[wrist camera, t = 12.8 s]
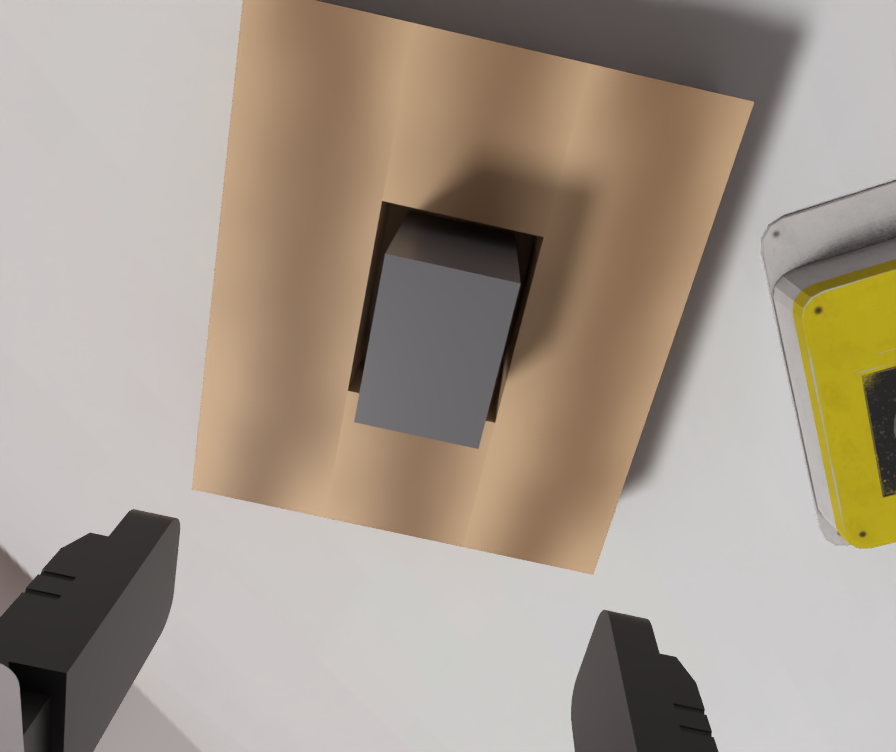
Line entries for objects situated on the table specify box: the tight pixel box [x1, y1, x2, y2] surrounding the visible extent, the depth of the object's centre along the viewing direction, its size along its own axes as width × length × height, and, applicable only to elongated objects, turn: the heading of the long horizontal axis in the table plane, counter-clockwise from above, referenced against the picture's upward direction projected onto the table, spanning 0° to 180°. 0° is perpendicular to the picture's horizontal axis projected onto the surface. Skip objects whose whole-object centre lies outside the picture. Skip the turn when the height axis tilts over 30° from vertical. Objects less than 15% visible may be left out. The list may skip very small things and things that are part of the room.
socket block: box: [192, 0, 754, 574], centre depth 30 cm, size 16×18×4 cm
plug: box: [354, 210, 521, 449], centre depth 27 cm, size 4×6×7 cm
